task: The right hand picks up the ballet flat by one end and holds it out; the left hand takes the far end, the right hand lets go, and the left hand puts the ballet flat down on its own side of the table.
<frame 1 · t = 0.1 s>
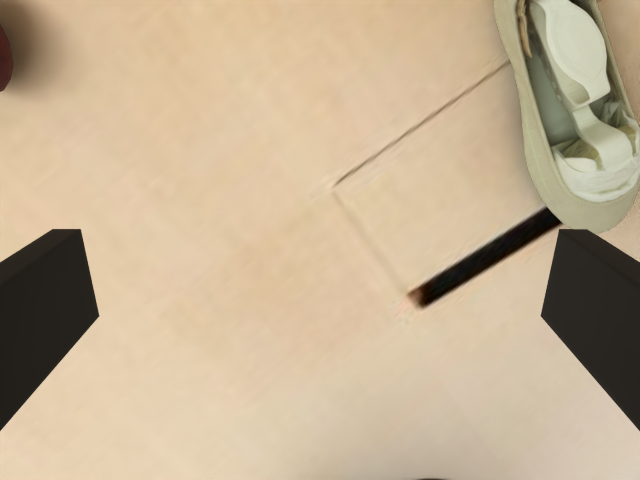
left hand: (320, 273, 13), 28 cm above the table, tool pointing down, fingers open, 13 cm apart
ballet flat: (553, 108, 38), on the table
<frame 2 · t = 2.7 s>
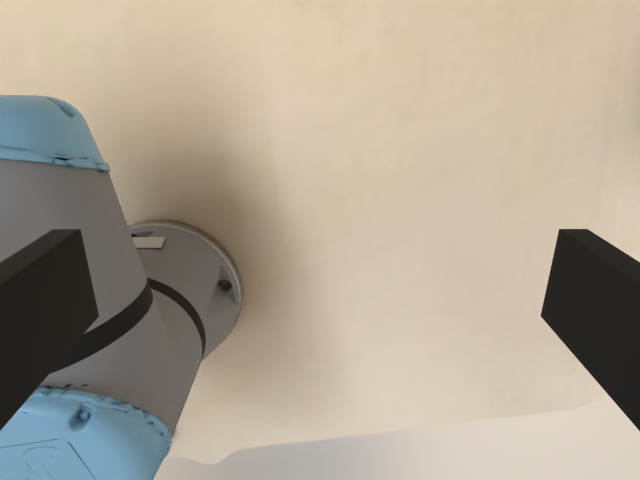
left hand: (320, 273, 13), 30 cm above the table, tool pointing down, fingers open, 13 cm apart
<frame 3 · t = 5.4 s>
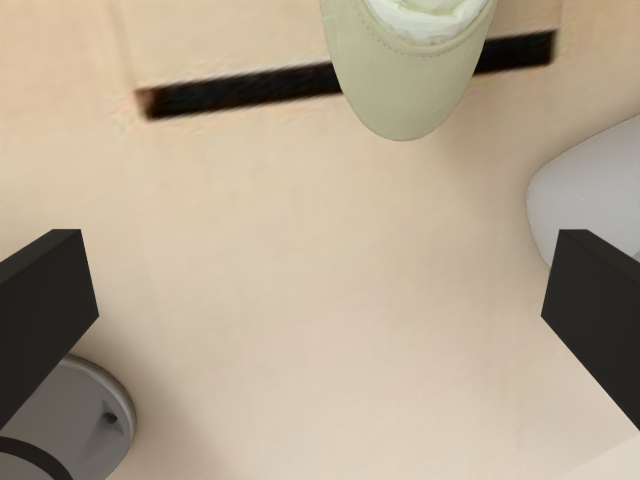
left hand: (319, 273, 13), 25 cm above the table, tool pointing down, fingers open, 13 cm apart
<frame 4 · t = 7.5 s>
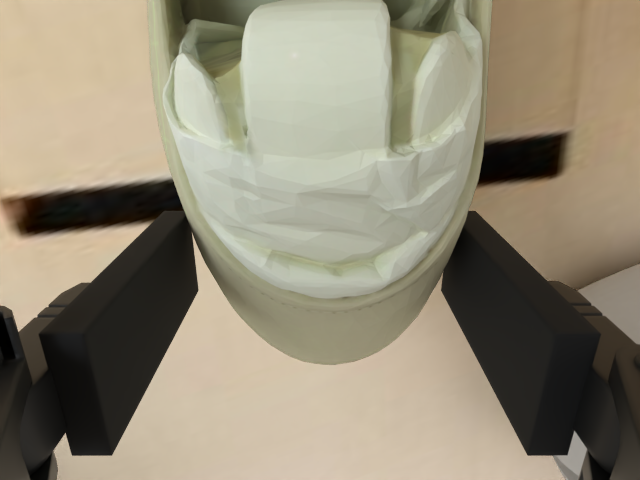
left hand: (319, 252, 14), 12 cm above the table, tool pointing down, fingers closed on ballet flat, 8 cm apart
when the right hand's fingers open (12 cm above the table, at t = 8.5 s): ballet flat stays where it is, held by the left hand.
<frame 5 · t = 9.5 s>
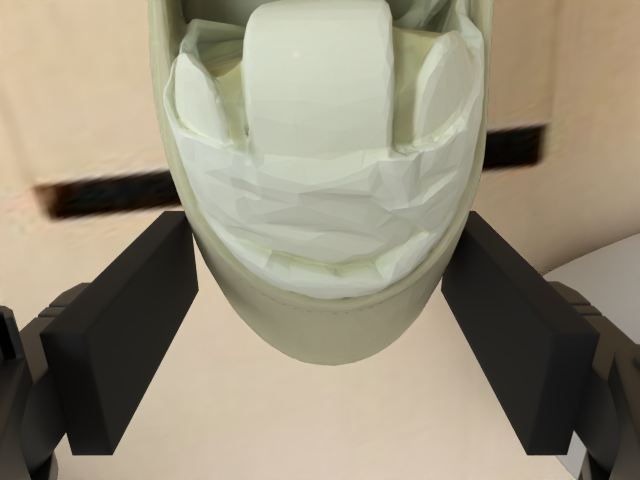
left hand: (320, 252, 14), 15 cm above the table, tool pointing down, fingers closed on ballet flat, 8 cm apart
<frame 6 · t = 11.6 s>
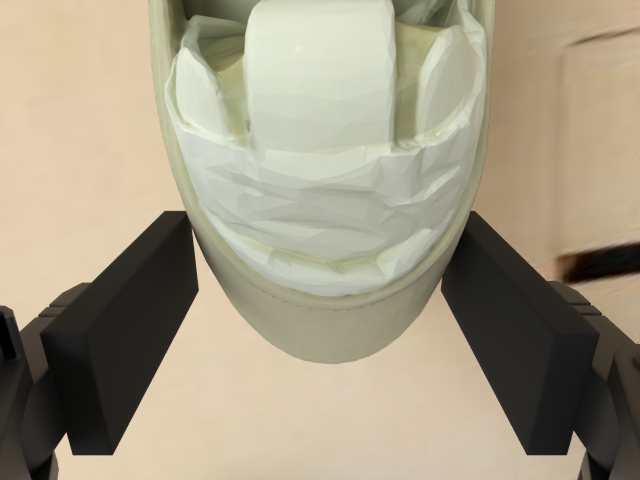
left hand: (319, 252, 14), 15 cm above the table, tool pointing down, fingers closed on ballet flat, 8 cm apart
when the left hand's fingers open (2 cm above the table, at t = 15.6 s): ballet flat stays where it is, on the table.
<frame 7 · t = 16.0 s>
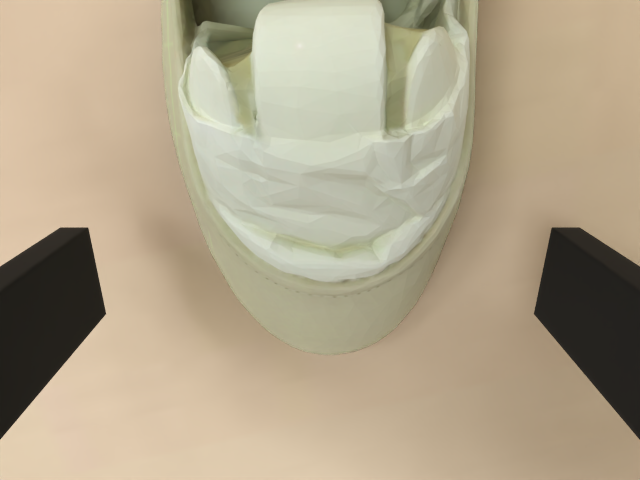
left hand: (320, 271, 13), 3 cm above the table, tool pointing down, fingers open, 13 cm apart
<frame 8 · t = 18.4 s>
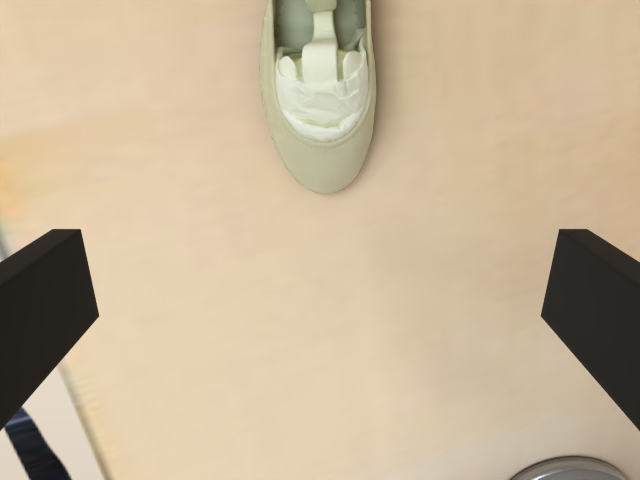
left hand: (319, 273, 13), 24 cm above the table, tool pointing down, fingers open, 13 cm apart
ballet flat: (316, 22, 32), on the table
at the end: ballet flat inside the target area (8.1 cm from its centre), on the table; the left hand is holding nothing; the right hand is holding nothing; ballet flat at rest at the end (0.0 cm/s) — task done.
